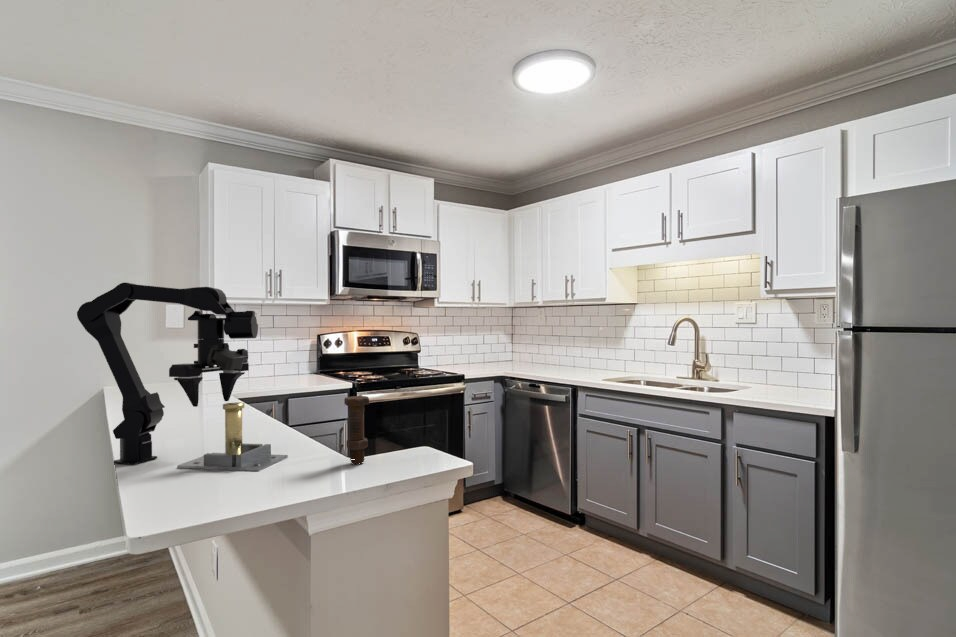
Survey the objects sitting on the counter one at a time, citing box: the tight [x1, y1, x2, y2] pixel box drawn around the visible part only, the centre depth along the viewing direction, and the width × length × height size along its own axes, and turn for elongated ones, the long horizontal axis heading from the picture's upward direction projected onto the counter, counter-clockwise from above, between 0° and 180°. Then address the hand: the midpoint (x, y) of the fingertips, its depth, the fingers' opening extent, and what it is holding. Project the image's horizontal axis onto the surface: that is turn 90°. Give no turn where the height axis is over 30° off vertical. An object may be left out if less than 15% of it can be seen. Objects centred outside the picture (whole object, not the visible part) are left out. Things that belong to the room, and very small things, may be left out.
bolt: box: [343, 395, 370, 465], centre depth 120 cm, size 6×5×15 cm
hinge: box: [176, 442, 289, 472], centre depth 122 cm, size 20×12×3 cm, turn 80°
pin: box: [222, 402, 245, 456], centre depth 123 cm, size 5×5×13 cm
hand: (211, 403), depth 128 cm, fingers open, 9 cm apart
